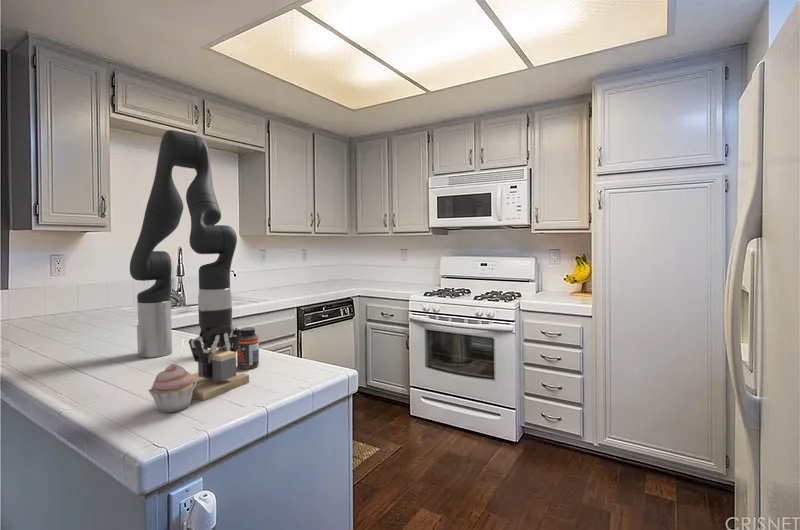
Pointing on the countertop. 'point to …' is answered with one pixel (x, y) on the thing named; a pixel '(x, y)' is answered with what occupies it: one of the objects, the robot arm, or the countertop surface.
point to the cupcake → (172, 389)
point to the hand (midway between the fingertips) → (217, 374)
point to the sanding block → (221, 365)
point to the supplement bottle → (248, 349)
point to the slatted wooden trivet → (215, 385)
